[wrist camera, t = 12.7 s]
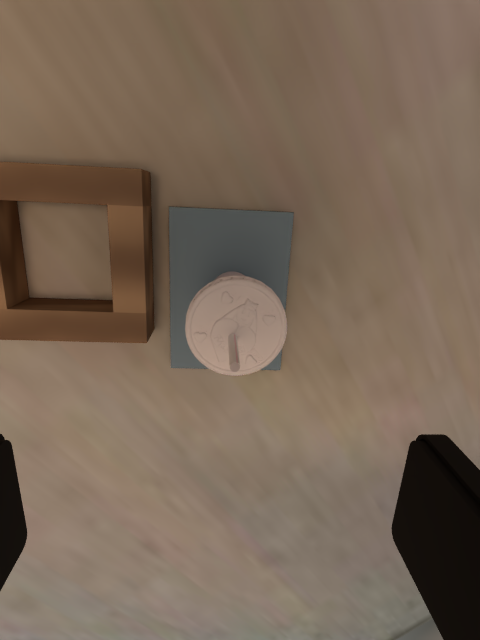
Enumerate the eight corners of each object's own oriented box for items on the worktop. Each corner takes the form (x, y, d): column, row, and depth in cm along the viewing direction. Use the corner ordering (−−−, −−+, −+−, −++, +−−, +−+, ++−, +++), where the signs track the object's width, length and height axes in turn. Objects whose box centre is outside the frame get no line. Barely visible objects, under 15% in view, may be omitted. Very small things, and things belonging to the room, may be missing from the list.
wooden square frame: (-22, 163, 29) (-54, 158, 25) (150, 172, 29) (141, 169, 26) (3, 324, 33) (-22, 338, 29) (154, 328, 33) (146, 343, 30)
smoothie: (181, 307, 32) (154, 383, 19) (215, 241, 31) (212, 272, 17) (246, 339, 34) (264, 431, 20) (282, 277, 32) (327, 332, 19)
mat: (170, 206, 30) (169, 206, 30) (292, 212, 31) (293, 212, 30) (171, 365, 35) (170, 367, 34) (279, 367, 35) (280, 370, 35)
